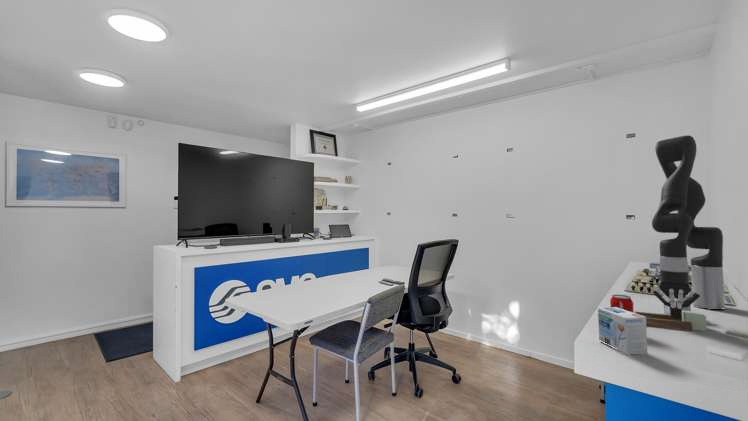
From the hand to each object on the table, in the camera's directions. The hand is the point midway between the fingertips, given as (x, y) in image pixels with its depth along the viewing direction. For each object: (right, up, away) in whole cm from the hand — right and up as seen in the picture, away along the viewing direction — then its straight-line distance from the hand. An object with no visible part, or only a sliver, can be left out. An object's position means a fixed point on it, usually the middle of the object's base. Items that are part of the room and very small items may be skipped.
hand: (675, 318), depth 115 cm
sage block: (+4, -2, -3) cm, 5 cm away
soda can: (-22, -3, -4) cm, 23 cm away
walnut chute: (-3, -3, +2) cm, 5 cm away
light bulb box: (-32, -4, -17) cm, 36 cm away
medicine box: (+9, -3, +9) cm, 14 cm away
